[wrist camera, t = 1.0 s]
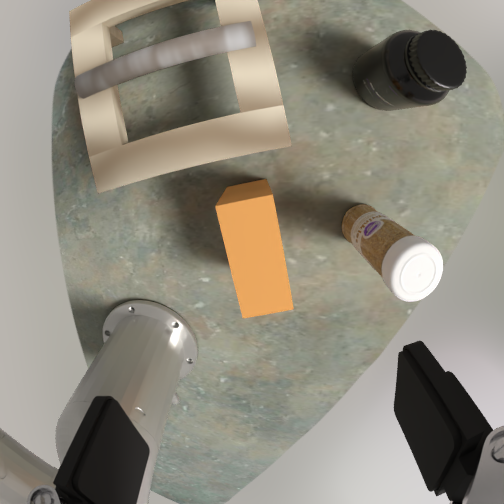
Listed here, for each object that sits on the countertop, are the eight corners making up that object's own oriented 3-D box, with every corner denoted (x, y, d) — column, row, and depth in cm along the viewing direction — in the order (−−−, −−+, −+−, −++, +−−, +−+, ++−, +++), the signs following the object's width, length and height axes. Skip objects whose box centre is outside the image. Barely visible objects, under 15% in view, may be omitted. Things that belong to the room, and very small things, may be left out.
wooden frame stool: (280, 145, 29) (295, 146, 19) (137, 179, 30) (85, 198, 20) (245, -3, 24) (243, -59, 13) (109, 36, 25) (57, 4, 14)
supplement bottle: (349, 105, 28) (402, 87, 16) (351, 46, 26) (399, 4, 14) (408, 117, 28) (476, 112, 17) (409, 60, 26) (473, 34, 14)
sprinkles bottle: (355, 195, 31) (416, 231, 18) (386, 217, 32) (455, 262, 19) (332, 232, 32) (378, 287, 20) (364, 252, 33) (420, 313, 20)
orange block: (282, 262, 33) (293, 309, 24) (245, 269, 34) (242, 318, 24) (266, 178, 30) (272, 194, 21) (226, 186, 31) (215, 206, 21)
